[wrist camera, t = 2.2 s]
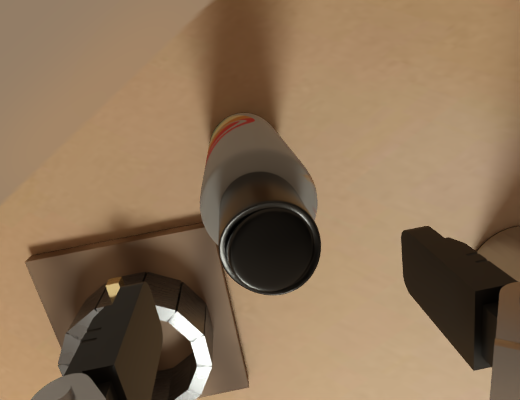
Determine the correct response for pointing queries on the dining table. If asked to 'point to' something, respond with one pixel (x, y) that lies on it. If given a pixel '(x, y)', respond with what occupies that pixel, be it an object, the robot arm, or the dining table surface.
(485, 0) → the dining table surface
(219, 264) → the base plate
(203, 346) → the ring
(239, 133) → the lotion bottle
